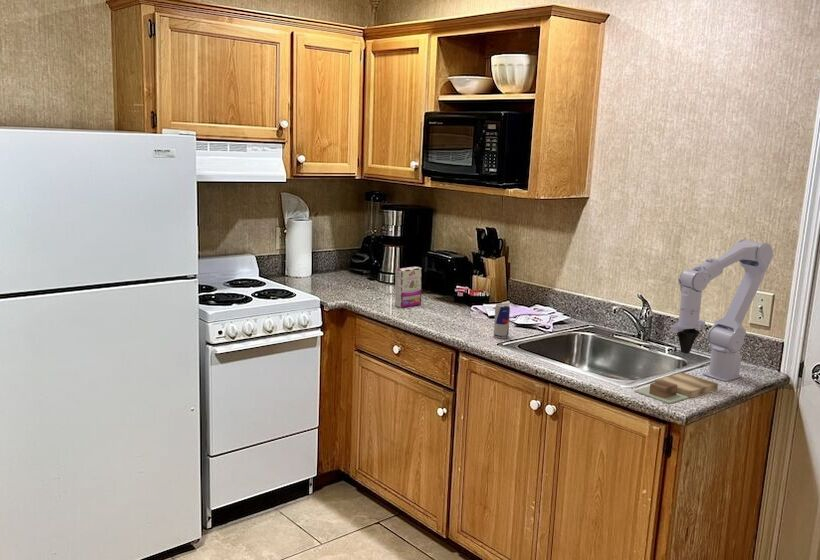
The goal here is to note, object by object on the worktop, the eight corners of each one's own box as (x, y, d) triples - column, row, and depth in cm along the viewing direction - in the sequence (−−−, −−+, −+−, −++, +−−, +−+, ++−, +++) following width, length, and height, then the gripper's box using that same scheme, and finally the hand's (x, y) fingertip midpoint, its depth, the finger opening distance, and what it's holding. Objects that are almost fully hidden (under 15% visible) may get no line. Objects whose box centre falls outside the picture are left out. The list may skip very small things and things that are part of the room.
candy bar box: (413, 303, 326) (415, 266, 323) (421, 305, 322) (422, 267, 319) (393, 306, 319) (394, 268, 316) (401, 308, 315) (402, 270, 312)
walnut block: (661, 389, 220) (662, 380, 220) (676, 394, 217) (677, 384, 216) (649, 393, 217) (650, 383, 216) (664, 398, 213) (665, 388, 212)
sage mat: (653, 386, 225) (653, 385, 225) (688, 398, 215) (688, 397, 215) (634, 391, 219) (634, 390, 219) (669, 404, 210) (669, 402, 210)
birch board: (682, 378, 233) (683, 372, 233) (717, 389, 223) (717, 383, 223) (654, 386, 225) (654, 379, 224) (689, 398, 215) (690, 391, 215)
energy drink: (506, 339, 271) (508, 307, 269) (491, 337, 273) (493, 305, 271) (509, 336, 276) (511, 304, 274) (495, 334, 278) (497, 303, 276)
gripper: (687, 314, 218) (682, 359, 220) (715, 309, 226) (710, 352, 229) (666, 309, 223) (662, 353, 226) (695, 304, 232) (690, 346, 234)
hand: (685, 352), depth 228 cm, fingers closed
